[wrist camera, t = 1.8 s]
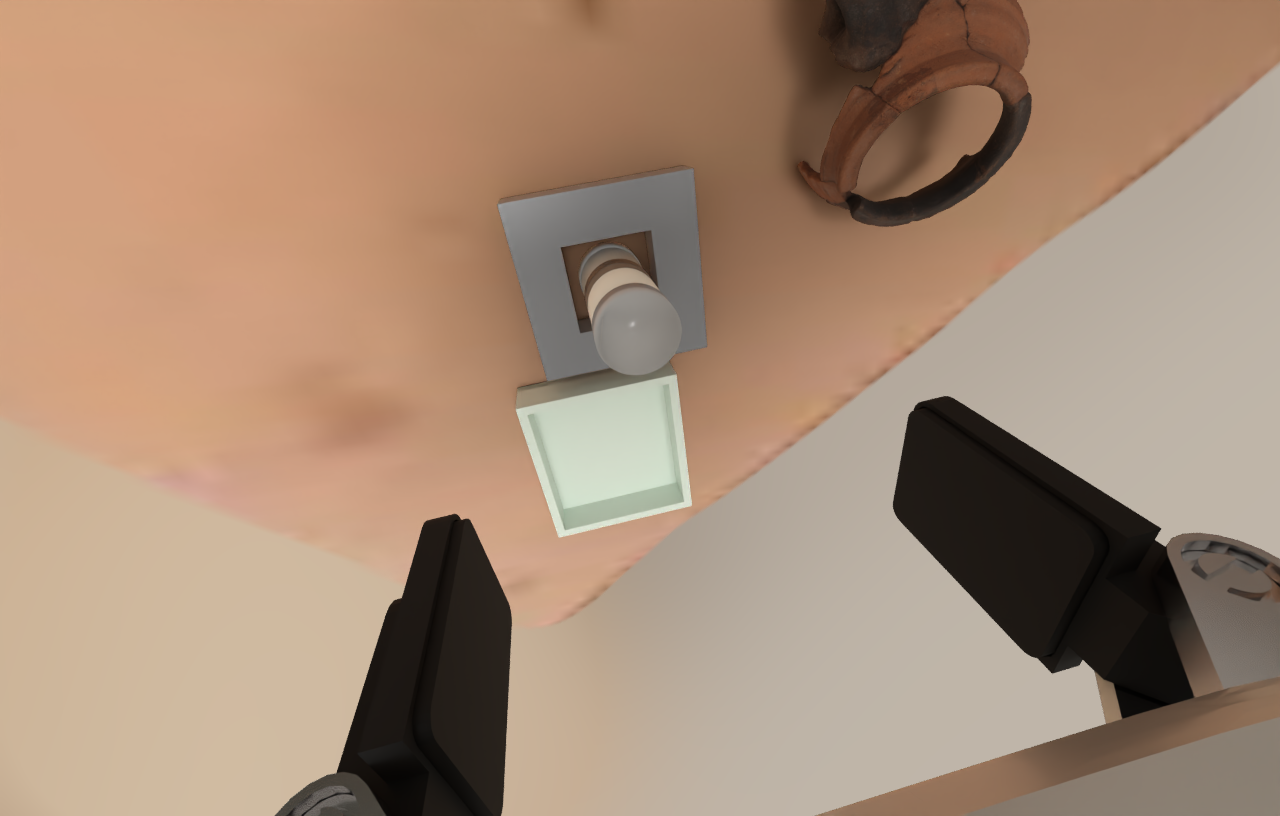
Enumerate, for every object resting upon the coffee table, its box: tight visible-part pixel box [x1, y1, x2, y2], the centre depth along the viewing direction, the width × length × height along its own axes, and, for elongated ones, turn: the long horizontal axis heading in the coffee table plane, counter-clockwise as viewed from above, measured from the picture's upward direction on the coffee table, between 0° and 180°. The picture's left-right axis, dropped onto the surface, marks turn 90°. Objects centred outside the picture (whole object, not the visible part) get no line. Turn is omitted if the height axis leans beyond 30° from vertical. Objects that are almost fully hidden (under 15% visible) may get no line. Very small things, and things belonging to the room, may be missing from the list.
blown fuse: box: [578, 241, 682, 375], centre depth 21 cm, size 3×3×9 cm
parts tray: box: [516, 362, 692, 537], centre depth 30 cm, size 9×10×2 cm
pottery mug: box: [798, 0, 1032, 227], centre depth 21 cm, size 12×10×8 cm
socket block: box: [497, 166, 707, 381], centre depth 24 cm, size 9×9×2 cm
